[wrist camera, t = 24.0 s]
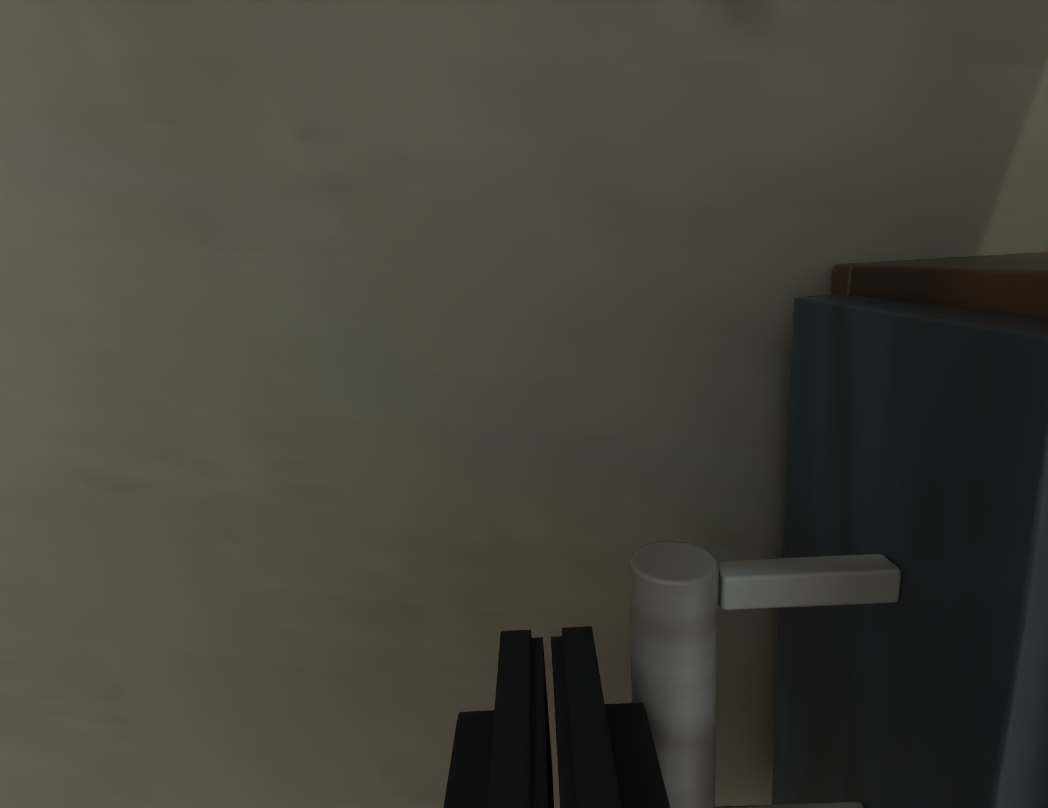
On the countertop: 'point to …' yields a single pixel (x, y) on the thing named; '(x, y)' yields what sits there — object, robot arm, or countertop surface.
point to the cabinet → (954, 282)
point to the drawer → (881, 573)
